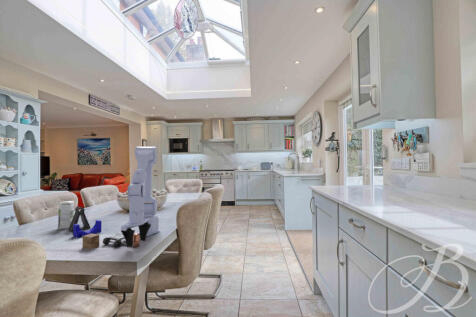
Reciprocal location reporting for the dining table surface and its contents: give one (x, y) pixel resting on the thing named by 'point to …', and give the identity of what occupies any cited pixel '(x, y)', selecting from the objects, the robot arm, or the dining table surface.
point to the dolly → (117, 239)
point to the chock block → (90, 241)
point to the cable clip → (79, 233)
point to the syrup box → (65, 214)
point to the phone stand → (76, 218)
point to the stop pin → (135, 240)
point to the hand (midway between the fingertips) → (136, 243)
